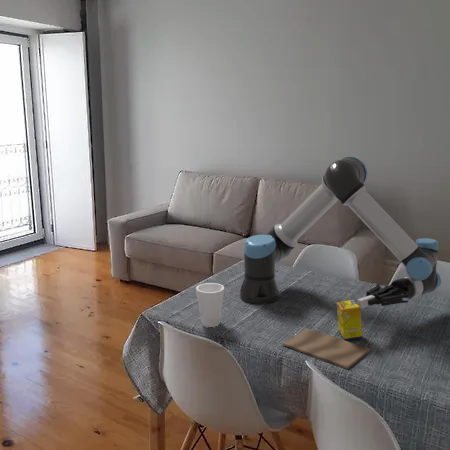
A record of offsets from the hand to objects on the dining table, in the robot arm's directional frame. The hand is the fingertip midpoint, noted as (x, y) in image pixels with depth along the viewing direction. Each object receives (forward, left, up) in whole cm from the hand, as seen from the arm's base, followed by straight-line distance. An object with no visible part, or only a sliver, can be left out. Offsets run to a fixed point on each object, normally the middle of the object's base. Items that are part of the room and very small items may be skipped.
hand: (359, 304), depth 161 cm
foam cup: (-42, -23, -11) cm, 50 cm away
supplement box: (-1, -2, -11) cm, 11 cm away
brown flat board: (-3, -14, -11) cm, 18 cm away
